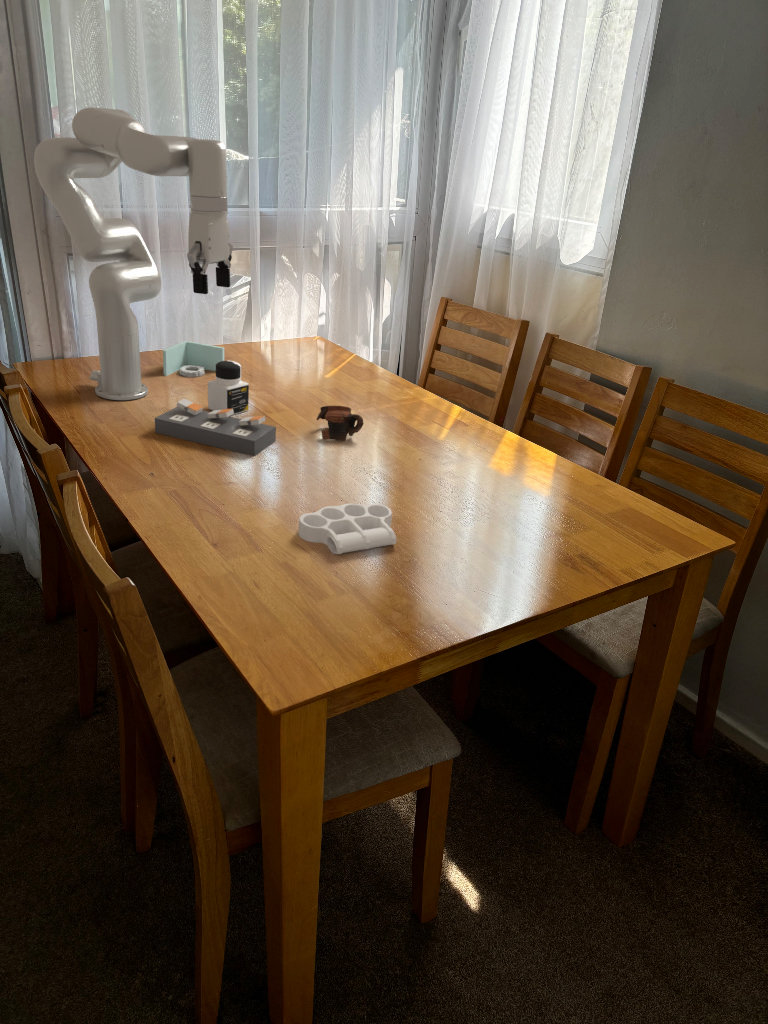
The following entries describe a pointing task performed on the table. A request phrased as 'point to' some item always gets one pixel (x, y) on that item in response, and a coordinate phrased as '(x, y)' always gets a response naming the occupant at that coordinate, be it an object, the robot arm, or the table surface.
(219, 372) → the medicine bottle
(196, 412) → the rocker
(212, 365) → the right angle wall
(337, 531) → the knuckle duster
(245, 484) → the table surface
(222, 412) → the rocker
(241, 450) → the power strip
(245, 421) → the rocker
